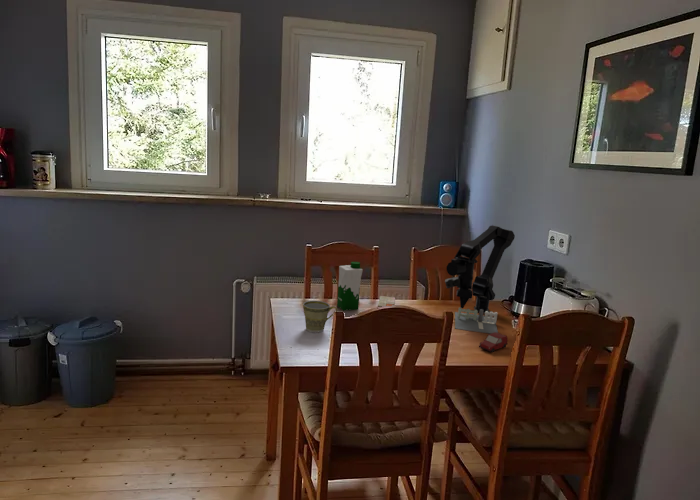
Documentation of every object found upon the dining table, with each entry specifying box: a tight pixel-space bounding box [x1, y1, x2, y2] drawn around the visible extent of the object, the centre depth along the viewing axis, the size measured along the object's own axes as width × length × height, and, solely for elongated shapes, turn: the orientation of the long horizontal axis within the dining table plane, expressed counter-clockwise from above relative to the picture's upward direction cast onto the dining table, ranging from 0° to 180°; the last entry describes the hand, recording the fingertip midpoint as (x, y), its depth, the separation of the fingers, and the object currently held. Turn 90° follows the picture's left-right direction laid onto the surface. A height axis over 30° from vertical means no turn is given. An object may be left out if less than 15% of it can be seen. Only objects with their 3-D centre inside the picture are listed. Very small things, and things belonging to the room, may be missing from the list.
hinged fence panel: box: [457, 306, 479, 320], centre depth 223 cm, size 8×1×4 cm, turn 79°
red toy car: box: [478, 332, 509, 353], centre depth 194 cm, size 6×12×5 cm, turn 132°
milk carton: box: [336, 261, 364, 311], centre depth 226 cm, size 9×9×20 cm
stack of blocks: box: [377, 295, 396, 308], centre depth 206 cm, size 21×6×12 cm, turn 173°
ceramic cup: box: [302, 300, 338, 334], centre depth 198 cm, size 13×10×10 cm
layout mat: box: [454, 311, 499, 334], centre depth 221 cm, size 22×17×1 cm
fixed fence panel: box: [478, 309, 498, 324], centre depth 222 cm, size 7×2×5 cm, turn 79°
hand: (461, 307), depth 229 cm, fingers closed
